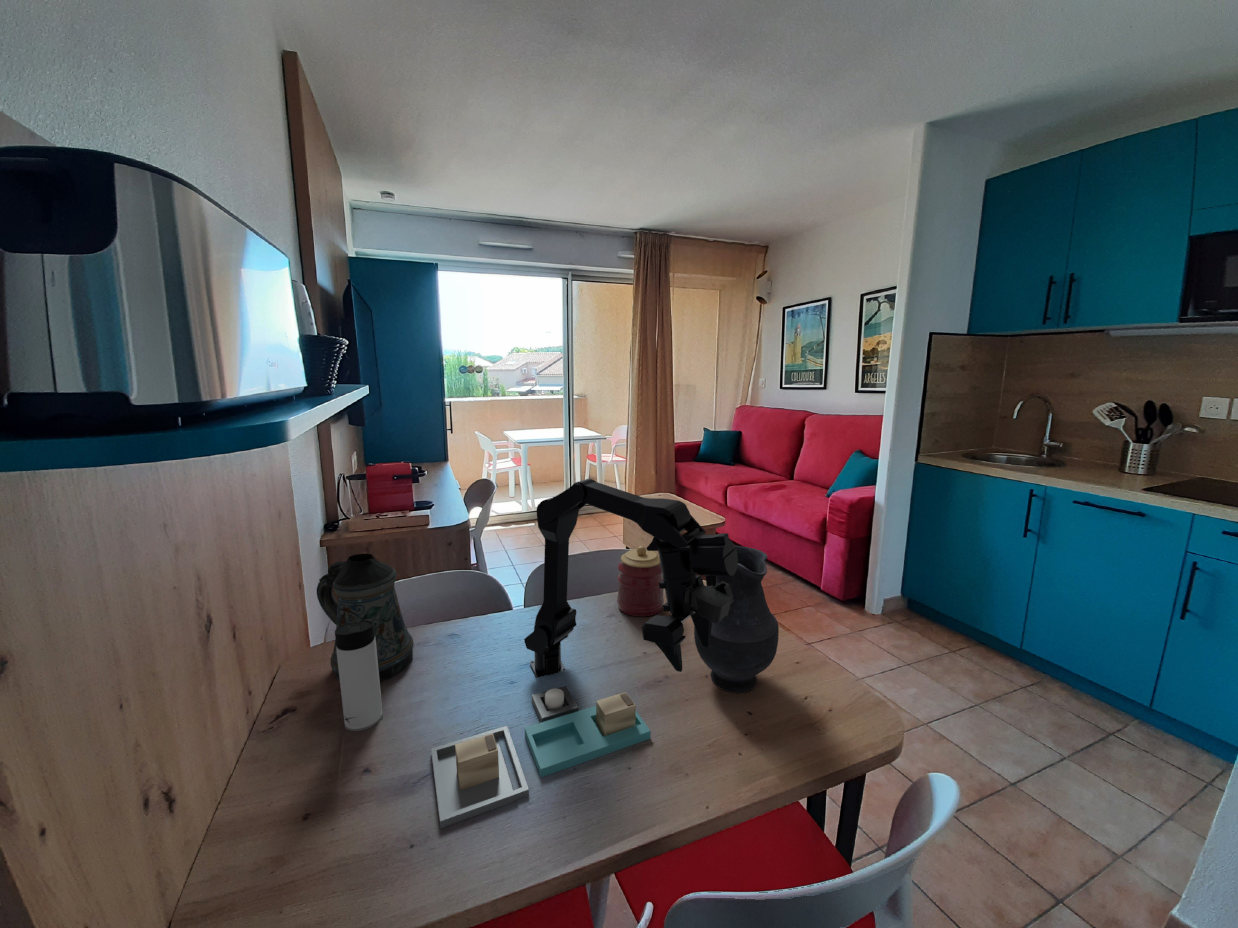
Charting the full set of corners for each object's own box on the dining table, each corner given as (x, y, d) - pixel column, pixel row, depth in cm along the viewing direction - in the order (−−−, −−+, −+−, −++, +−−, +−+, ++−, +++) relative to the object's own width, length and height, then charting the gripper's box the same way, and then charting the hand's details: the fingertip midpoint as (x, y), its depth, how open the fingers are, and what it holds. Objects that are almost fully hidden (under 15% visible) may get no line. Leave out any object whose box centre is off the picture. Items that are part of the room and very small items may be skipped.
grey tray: (431, 758, 83) (431, 748, 82) (507, 735, 88) (507, 725, 88) (441, 832, 70) (440, 821, 69) (529, 800, 75) (528, 789, 75)
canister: (613, 615, 131) (613, 553, 127) (621, 593, 143) (621, 536, 140) (661, 619, 129) (663, 556, 125) (665, 597, 141) (667, 539, 138)
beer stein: (408, 680, 103) (399, 569, 98) (304, 695, 98) (289, 579, 93) (419, 638, 119) (411, 541, 114) (329, 649, 114) (318, 548, 109)
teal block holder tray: (524, 739, 87) (524, 727, 87) (625, 707, 95) (625, 696, 95) (541, 782, 78) (540, 768, 78) (650, 743, 87) (650, 730, 86)
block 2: (596, 724, 89) (596, 700, 88) (625, 715, 92) (625, 691, 91) (604, 739, 86) (605, 714, 85) (635, 729, 88) (635, 704, 87)
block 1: (456, 771, 79) (455, 743, 78) (494, 759, 82) (492, 732, 81) (460, 790, 76) (458, 761, 75) (499, 776, 78) (498, 749, 77)
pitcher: (723, 715, 94) (732, 569, 88) (668, 657, 112) (673, 533, 106) (792, 692, 101) (805, 555, 95) (730, 641, 119) (738, 523, 113)
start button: (542, 702, 94) (542, 691, 94) (560, 697, 96) (560, 686, 96) (548, 714, 91) (548, 702, 91) (566, 708, 93) (566, 697, 92)
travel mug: (344, 740, 86) (332, 637, 82) (345, 717, 92) (334, 619, 88) (383, 729, 89) (374, 629, 85) (382, 706, 95) (373, 612, 91)
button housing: (532, 706, 96) (531, 694, 95) (565, 696, 99) (565, 685, 98) (542, 730, 89) (542, 718, 89) (578, 718, 92) (578, 707, 92)
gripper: (690, 597, 73) (707, 696, 74) (744, 558, 87) (757, 641, 88) (632, 591, 80) (648, 681, 81) (691, 556, 94) (704, 633, 96)
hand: (693, 658), depth 87 cm, fingers open, 9 cm apart
